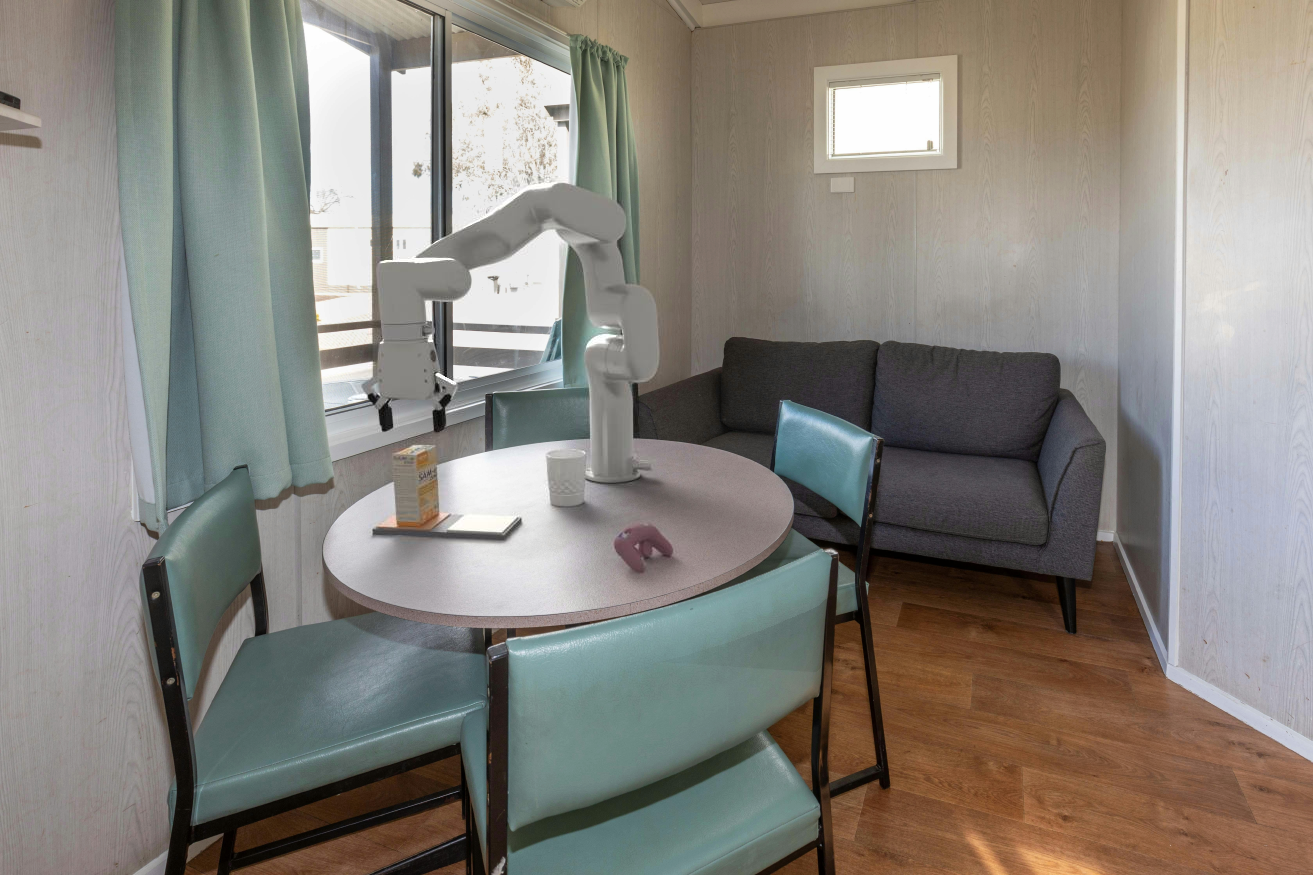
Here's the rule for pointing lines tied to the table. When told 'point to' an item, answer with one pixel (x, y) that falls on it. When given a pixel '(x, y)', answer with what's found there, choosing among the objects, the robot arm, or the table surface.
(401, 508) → the supplement box
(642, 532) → the video game controller
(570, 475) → the white cup
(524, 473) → the table surface
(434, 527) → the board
